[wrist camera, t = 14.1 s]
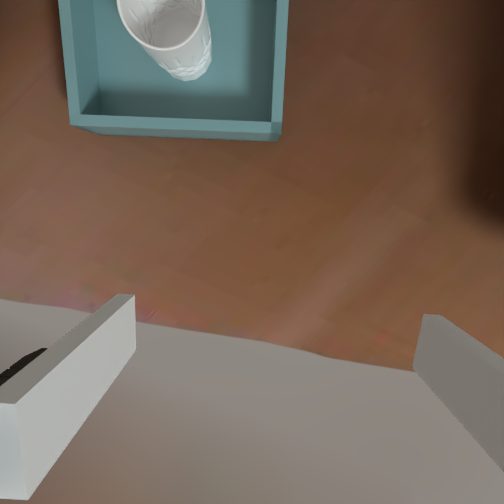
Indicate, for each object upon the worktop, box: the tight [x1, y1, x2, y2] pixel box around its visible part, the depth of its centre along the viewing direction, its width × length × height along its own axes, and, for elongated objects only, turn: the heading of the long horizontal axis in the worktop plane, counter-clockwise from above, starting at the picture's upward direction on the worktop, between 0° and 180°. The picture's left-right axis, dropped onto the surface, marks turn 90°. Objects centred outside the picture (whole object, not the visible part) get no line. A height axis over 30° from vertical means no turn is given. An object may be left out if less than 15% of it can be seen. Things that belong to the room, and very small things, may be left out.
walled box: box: [58, 0, 289, 142], centre depth 33 cm, size 24×20×6 cm
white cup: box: [117, 0, 212, 81], centre depth 30 cm, size 8×8×10 cm
